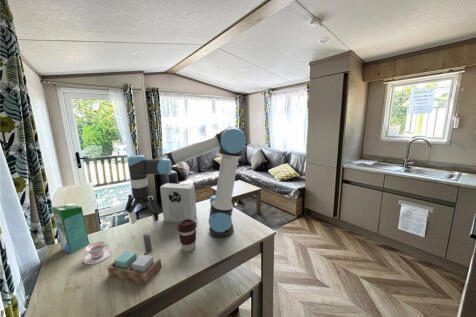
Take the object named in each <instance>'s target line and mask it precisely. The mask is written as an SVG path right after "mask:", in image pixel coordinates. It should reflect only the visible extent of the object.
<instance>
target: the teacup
mask: <svg viewBox="0 0 476 317" xmlns="http://www.w3.org/2000/svg"><path fill="white" fill-rule="evenodd" d="M85 251H86V252H87V253H88V254H87V255H86V256H85V257H84V258H83V263H84V264H85V265H96V264H98V263H102V262H103V261H105V260H106V259H108V258H109V257H110V256H111V255H112V253H113V250H112V249H111V247H109V244H107V242H106V241H96V242H94V243H91V244H88V245H87V246H86V247H85Z"/></svg>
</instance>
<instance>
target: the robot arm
mask: <svg viewBox="0 0 476 317" xmlns="http://www.w3.org/2000/svg"><path fill="white" fill-rule="evenodd" d="M246 143H247V141H246V135H245V133H244V132H243V130H242V129H241V128H238V127H235V126H228V127H226V128H224V129H223V130H221V131H219V132H216V133H215V134H214V135H213V136H211V137H208V138H205V139H203V140H200V141H197V142H194V143H191V144H189V145H187V146H183V147H181V148H178V149H175V150H172V151H170V152H168V153H164V154H162V155H160V156H159V157H157V158H150V159H149V158H146V156H145V155H144V154H136V155H135V154H134V155H131V156H128V157H127V166H128V172H129V179H130V186H131V193H130V194H128V195H127V198H128V199H127V202H126V206H125V208H124V211H126V212H128V214H129V218H130V224H131V225H134V224H135V223H137V215H136V210H135V208H136V207H137V206H138V205H144V206H145V207H146V208H147V209H148V210H149V212H150V213H151V214H152V217H151V218H152V227H153V228H154V229H155V228H157V226H159V220H160V219H159V218H160V217H159V215H160V214H162V210H161V208H160V206H159V205H158V202H157V200H156V198H155V195H154V194H152V195H149V192H150V190H149V189H150V188H149V182H148V175H166V174H170V173H171V172H172V169H173V166H175V165H178V164H181V163H183V162H186V161H190V160H191V159H194V158H197V157H200V156H203V155H205V154H208V153H211V152H214V151H217V150H218V151H219V152H218V153H219V154H220V156H221V157H220V158H221V159H220V162H219V171H218V177H217V184H216V191H215V194H214V195H211V196H210V199H209V203H210V208H209V209H210V210H209V218H208V225H209V228H208V232H209V234H210V236H212V237H214V238H219V239H220V238H227V237H230V235H232V234H233V232H234V224H233V221H232V220H233V219H232V216H233V209H234V204H233V203H232V198H233V192H234V187H235V182H236V181H235V180H236V176H237V169H238V163H239V159H240V158H242V156H243V151H244V148H245V147H246V146H245V145H246Z"/></svg>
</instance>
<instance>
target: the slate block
mask: <svg viewBox="0 0 476 317" xmlns="http://www.w3.org/2000/svg"><path fill="white" fill-rule="evenodd" d="M140 255H141V254H140ZM140 255H139V256H140ZM139 256H138V257H139ZM154 263H155V262H154V257H153V256H151V255H147V254H144V255H141V256H140V257H139V258H138V259H137V260H136V261H134V262H133V263H132V268H133V271H136V272H140V273H146V272H147V271H148V269H149V268H150V267H151V266H152V265H153V264H154Z"/></svg>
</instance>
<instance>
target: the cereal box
mask: <svg viewBox="0 0 476 317" xmlns="http://www.w3.org/2000/svg"><path fill="white" fill-rule="evenodd" d="M195 188H196V187H195V184H185V183H171V182H170V183H169V182H167V183H164V184H162V185H161V186H160V187H159V190H160V197H161V198H160V199H161V206H162V208H161V209H162V216H163V218H162V219H163V221H165V222H172V223H173V222H174V223H181V221H183V220H186V219H191V220H193V221H195V222H196V220H197V219H198V217H197V215H198V214H197V201H196V189H195Z"/></svg>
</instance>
